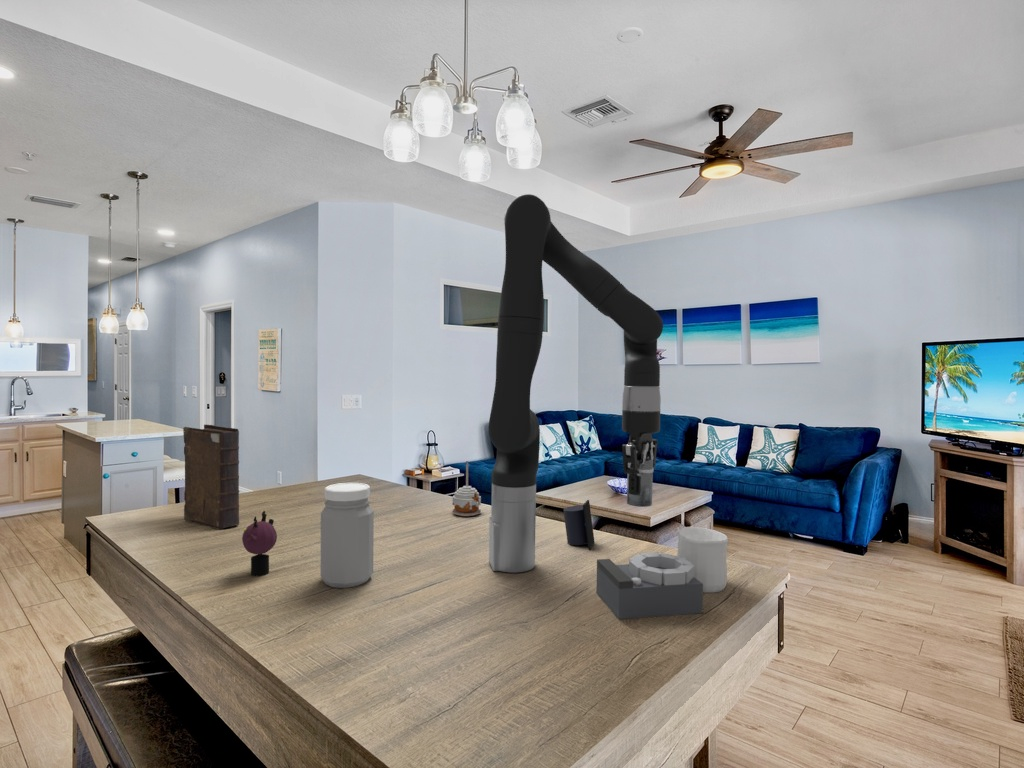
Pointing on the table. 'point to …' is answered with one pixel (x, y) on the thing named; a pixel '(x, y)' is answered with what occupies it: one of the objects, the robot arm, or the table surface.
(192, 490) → the book
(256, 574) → the figurine
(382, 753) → the table surface
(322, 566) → the jar
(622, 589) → the camera body
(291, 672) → the table surface
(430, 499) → the table surface
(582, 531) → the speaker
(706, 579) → the cup
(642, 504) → the lens
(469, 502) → the decorative ornament
